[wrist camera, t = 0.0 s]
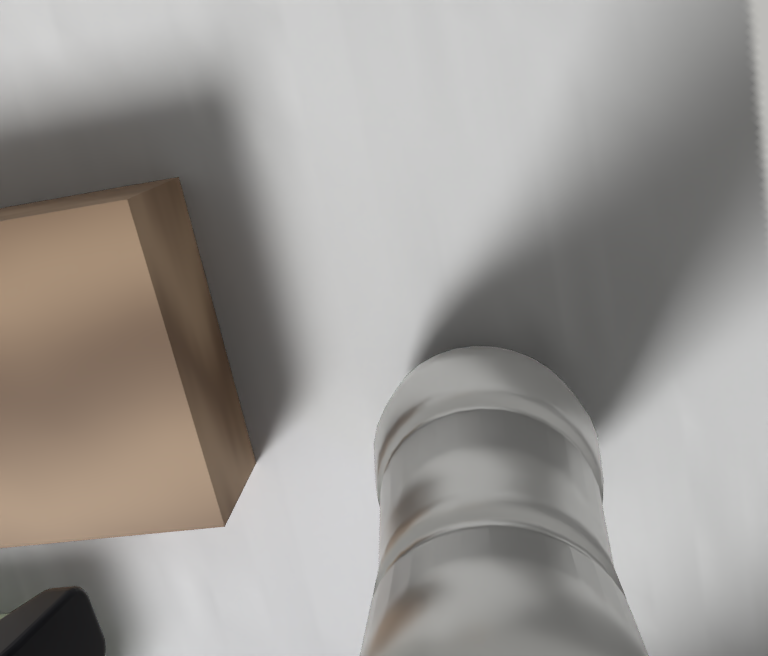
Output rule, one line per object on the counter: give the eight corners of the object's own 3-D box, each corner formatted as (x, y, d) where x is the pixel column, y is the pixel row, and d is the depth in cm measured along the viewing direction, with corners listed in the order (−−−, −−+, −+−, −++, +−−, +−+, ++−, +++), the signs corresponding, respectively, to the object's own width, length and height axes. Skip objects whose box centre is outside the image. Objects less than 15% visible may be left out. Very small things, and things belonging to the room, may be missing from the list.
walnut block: (258, 457, 25) (224, 526, 22) (3, 485, 27) (-70, 554, 23) (182, 175, 22) (127, 199, 18) (-104, 225, 24) (-208, 257, 20)
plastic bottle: (468, 282, 22) (526, 1504, 3) (630, 413, 23) (1353, 1906, 4) (342, 423, 24) (-44, 1651, 6) (495, 537, 25) (602, 1900, 7)
